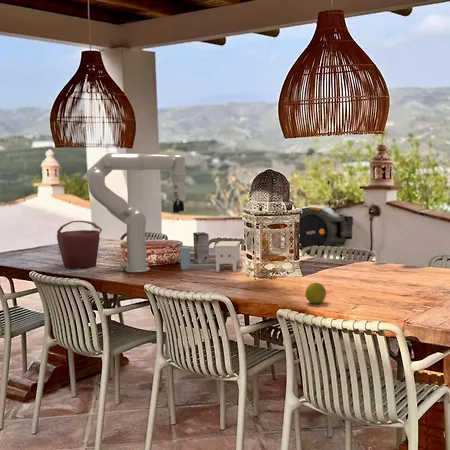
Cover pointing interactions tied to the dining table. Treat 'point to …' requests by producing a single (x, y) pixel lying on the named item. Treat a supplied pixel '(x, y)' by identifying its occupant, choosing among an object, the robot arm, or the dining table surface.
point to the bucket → (79, 247)
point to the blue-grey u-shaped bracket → (186, 264)
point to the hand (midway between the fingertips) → (178, 211)
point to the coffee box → (201, 247)
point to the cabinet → (227, 253)
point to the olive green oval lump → (315, 293)
